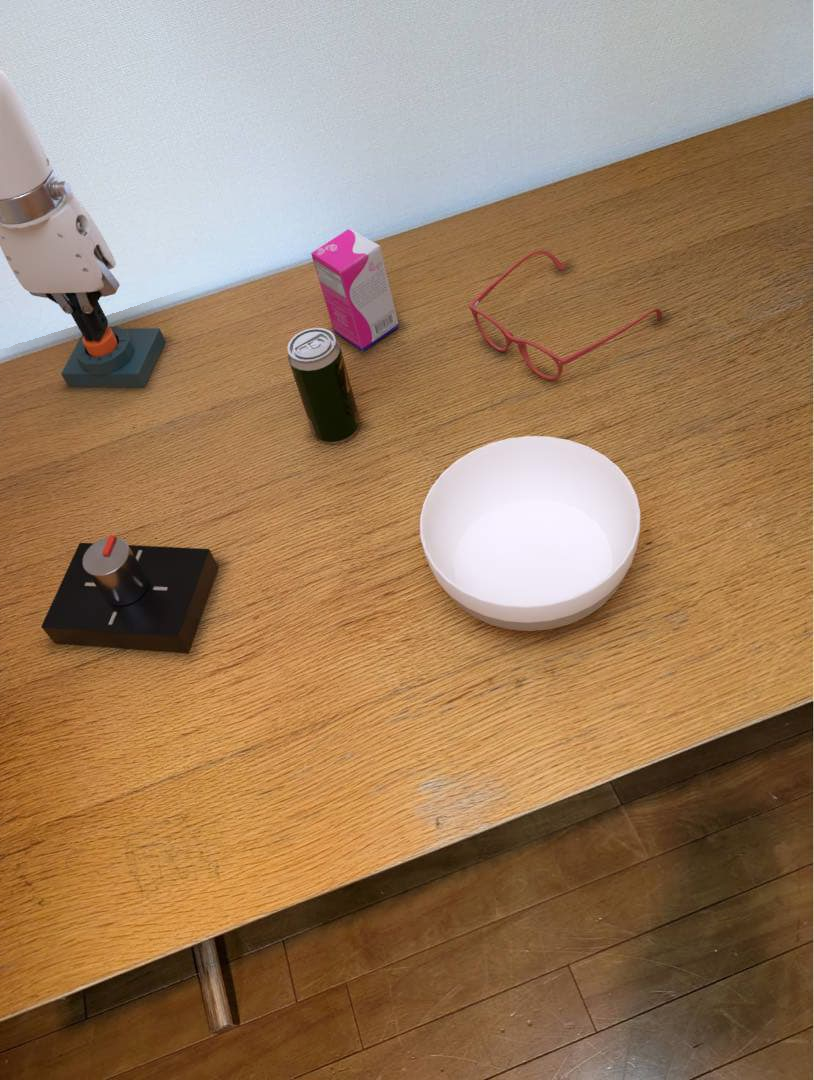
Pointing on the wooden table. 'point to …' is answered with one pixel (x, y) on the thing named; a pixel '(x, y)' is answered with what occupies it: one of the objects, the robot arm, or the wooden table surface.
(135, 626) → the knob panel
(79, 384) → the button block
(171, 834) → the wooden table surface
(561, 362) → the red eyeglasses
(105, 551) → the dark cylinder with disc
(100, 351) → the button
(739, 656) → the wooden table surface
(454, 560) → the bowl
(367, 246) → the supplement box
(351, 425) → the beer can
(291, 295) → the wooden table surface
